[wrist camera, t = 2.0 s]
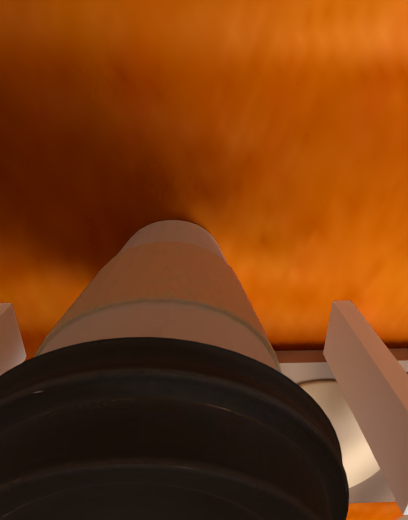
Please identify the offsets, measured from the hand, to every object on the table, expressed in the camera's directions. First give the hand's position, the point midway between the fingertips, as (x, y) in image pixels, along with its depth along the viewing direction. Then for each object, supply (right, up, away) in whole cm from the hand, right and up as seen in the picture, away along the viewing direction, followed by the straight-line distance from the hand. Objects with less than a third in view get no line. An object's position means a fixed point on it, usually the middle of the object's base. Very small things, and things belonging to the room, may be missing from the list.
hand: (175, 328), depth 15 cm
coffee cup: (-1, +3, +6) cm, 7 cm away
